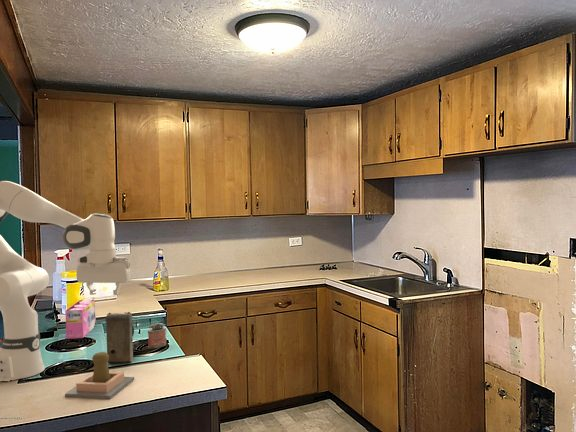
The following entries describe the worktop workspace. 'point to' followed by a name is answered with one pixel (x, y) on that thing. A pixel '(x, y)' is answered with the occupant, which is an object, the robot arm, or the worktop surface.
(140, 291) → the worktop surface
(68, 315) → the gum box
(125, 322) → the vintage camera
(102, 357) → the olive peg figure
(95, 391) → the socket block
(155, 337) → the lighter
